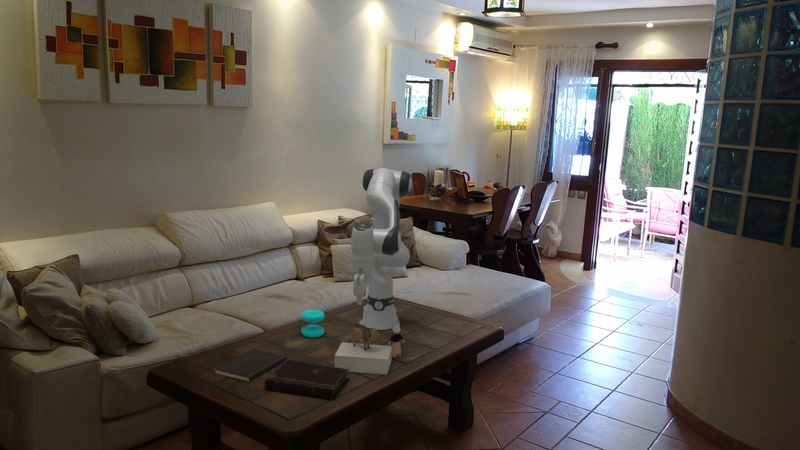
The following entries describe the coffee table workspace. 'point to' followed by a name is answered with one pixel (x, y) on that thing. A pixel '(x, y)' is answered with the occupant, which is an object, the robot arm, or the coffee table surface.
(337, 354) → the pedestal
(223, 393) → the coffee table surface
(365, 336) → the lion figurine
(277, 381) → the diary
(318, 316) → the donuts
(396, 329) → the grandmother figurine
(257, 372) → the hardcover book
